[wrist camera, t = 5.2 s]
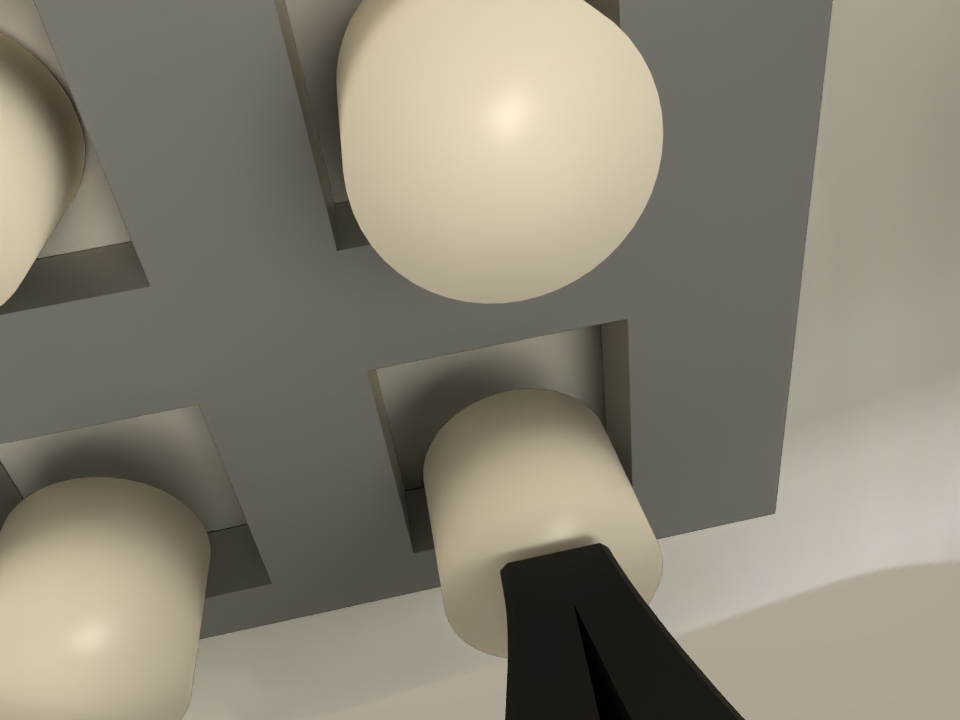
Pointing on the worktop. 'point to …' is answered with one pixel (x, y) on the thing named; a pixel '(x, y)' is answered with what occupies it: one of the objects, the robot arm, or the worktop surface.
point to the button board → (405, 289)
